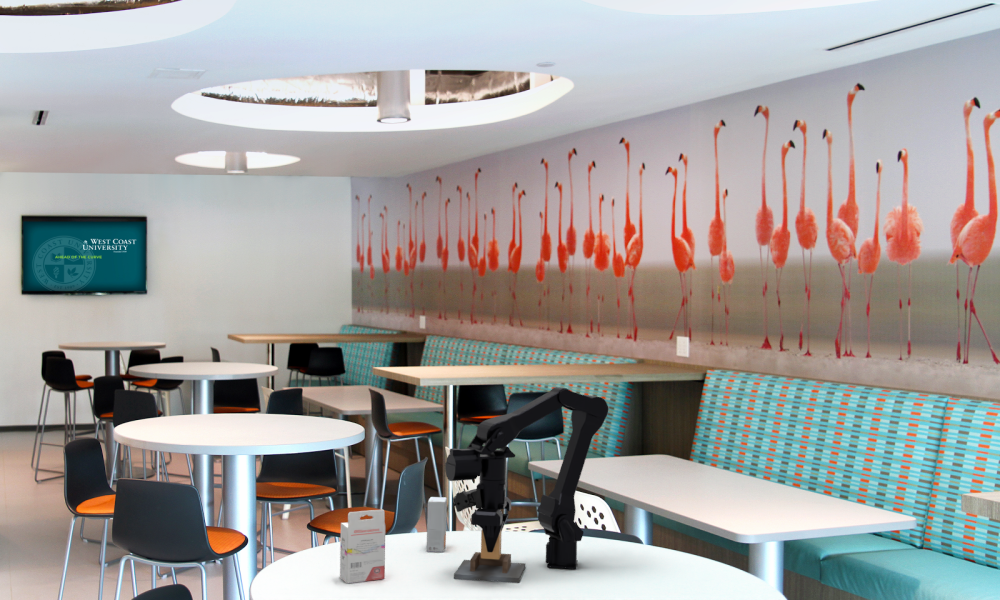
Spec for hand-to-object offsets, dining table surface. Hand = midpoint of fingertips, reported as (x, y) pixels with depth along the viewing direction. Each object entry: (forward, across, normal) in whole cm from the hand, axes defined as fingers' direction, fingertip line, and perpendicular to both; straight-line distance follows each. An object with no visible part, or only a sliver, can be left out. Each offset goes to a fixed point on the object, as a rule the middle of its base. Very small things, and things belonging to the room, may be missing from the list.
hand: (491, 550), depth 196 cm
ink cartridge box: (+5, +10, -26) cm, 28 cm away
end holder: (+5, 0, 0) cm, 5 cm away
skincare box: (+5, -18, -16) cm, 25 cm away
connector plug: (+2, 0, 0) cm, 2 cm away
